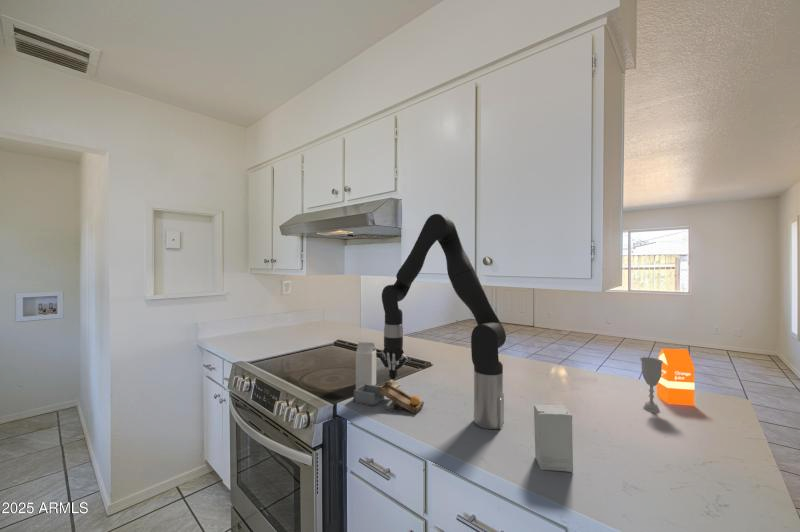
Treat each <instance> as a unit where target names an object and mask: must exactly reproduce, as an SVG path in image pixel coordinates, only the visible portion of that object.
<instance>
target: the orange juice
mask: <svg viewBox="0 0 800 532" xmlns="http://www.w3.org/2000/svg"><path fill="white" fill-rule="evenodd" d="M657 359H660V360H662V361H663V363H662V376H661V378H660V380H659V382H658V383H657V385H656V397H658V398H659V399H660V400H662V401H663V402H665V403H666V404H668V405H680V406H691V407H692V406H695V366H694V363H693V361H692V358H691V355H690V352H689V350H688V349H681V348H679V349H678V348H676V349H675V348H662V349H661V351H660V353H659V355H658V358H657Z"/></svg>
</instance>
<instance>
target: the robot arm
mask: <svg viewBox="0 0 800 532" xmlns="http://www.w3.org/2000/svg"><path fill="white" fill-rule="evenodd" d="M436 242H438V244H439V246H440V247H441V249H442V252H443V253H444V255H445V261H446V262H445V263H446V269H447V275H448V278H449V280H450V284H451V285H452V286H451V287H452V288H453V290H454V293H456V295H457V296H458V297H459V299H460V300H461V302H463V303H464V304H465V306H466V307H467V308H468V309H469V311H470V312H471V313H472V315H473V317H474V319H475V322H476V324H477V325H476V326H475V327H473V329H472V331H471V336H470V337H471V338H470V339H471V340H470V348H471V349H470V350H471V351H470V352H471V362H472V364H473V422H474V424H475V425H476V426H478V427H480V428H482V429H486V430H496V429H497V430H502V427H503V425H504V423H505V394H504V389H503V387H504V385H503V381H504V380H503V378H504V377H503V375H504V374H503V372H504V371H503V369H504V368H503V367H504V365H503V363H502V362H501V361H500V360H499V348H502V346H504V344H505V343H506V340H507V333H506V330H505V328H504V326H503V324H502V322H501V321H500V319H499V318H498V315H497V314H496V312H495V311H494V309H493V307H492V305H491V303H490V301H489V299H488V298H487V295H486V292H485V290H484V288H483V286H482V284H481V282H480V279H479V277H478V275H477V272H476V270H475V269H474V266H473V265H472V263H471V260H470V259H469V257H468V255H467V252H466V250H465V249H464V247H463V245H462V242H461V239H460V236H459V234H458V231H457V228H456V225H455V223H454V221H453V220H452V219H451V218H450V217H448V216H445V215H443V214H440V213H433V214H431V215H430V216H428V218H427V219H426V221H425V222H424V224H423V225H422V228H421V230H420V232H419V234H418V237H417V239H416V241H415V243H414V245H413V247H412V249H411V251H410V253H409V255H408V256H407V258H406V260H405V261H404V262H403V264H402V265H401V266H400V268H399V270H398V271H397V273H396V276H395V277H396V281H395V282H394V283H393V284H388V285H385V286H384V287H383V290H382V291H381V302H382V308H383V311H384V327H383V347H384V348H383V350H382V352H380V353H378V358H379V359H380V361H381V363H382V365H384V367H385V368H387V369H388V373H389V374H388V377H389V378H390V380H394V381H395V379H396V378H397V377H398V370H399V369H401V368H403V366H404V365H405V364H406V363H407V361H408V360H409V356H408V355H407V356H406V355H405V353H404V350H403V346H404V327H403V311H402V309H400V308H399V302H401V301H403V300H404V299H405V298H406V296H407V295H408V293H409V290H410V289H411V287H412V283H413V282H414V281H415V279H416V278H417V277H418V275H419V274H420V273H421V270H422V268H423V267H424V264H425V260H426V257H427V255H428V252H429V251H430V249H431V248H432V246H433V245H434V244H435V243H436Z"/></svg>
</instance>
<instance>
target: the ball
mask: <svg viewBox="0 0 800 532" xmlns="http://www.w3.org/2000/svg"><path fill="white" fill-rule="evenodd" d="M411 397H412V398H411V400H410V402H411V404H412V405H413V406H418V405H419V403H420V402H421V399H420V397H419V396H417V395H413V396H411Z"/></svg>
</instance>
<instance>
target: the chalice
mask: <svg viewBox="0 0 800 532" xmlns="http://www.w3.org/2000/svg"><path fill="white" fill-rule="evenodd" d="M639 360H640V361H641V374H642V377H643V379H644V381H645V383H646V384H647V385H648V386H649V389H648V392H649V395H648V397H649V400H648V401H646V402H645V403H644V405H643V407H642V409H643V411H644V410H645V411H647V412H650V413H656V414H657V413H661V410H660V407H659V406H658V404H657V403H656V402H655V401H654V398H655V396H654V392H655V390H654V387H657V383H658V382H659V380H660V378H661V376H662V363H663V361H662V360H660V359H658V358H655V357H646V356H645V357H639Z"/></svg>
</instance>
